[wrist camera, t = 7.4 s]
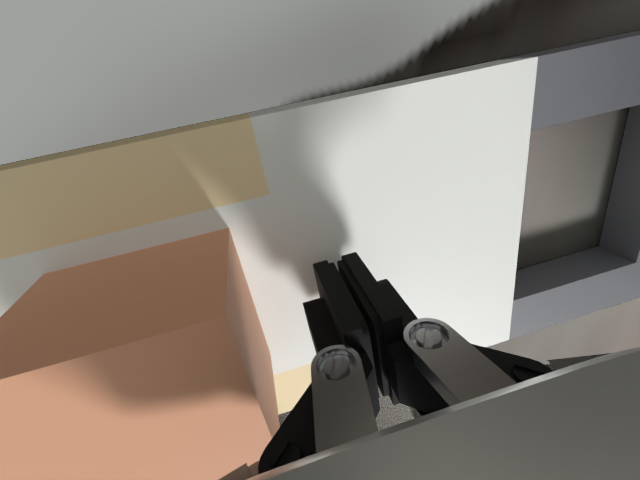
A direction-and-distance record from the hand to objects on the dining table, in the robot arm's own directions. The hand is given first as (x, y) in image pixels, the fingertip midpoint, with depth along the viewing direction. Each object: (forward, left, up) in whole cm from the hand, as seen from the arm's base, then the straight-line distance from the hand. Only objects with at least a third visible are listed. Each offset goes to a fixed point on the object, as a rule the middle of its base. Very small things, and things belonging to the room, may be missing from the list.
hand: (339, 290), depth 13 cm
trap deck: (+2, 0, -3) cm, 3 cm away
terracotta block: (+6, 0, -1) cm, 6 cm away
